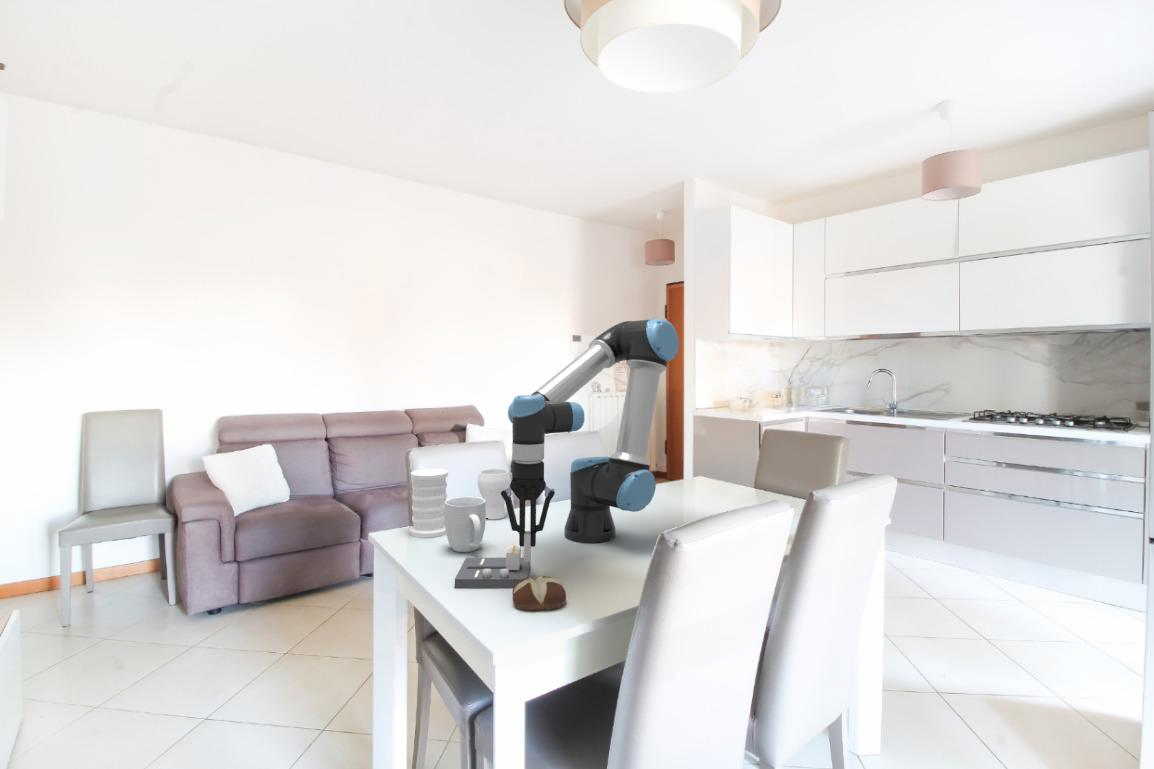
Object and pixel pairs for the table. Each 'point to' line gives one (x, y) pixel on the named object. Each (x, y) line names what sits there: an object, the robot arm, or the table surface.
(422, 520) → the decorative container
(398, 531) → the table surface
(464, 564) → the console
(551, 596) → the bread
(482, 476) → the cup
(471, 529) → the mug
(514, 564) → the fader cap
